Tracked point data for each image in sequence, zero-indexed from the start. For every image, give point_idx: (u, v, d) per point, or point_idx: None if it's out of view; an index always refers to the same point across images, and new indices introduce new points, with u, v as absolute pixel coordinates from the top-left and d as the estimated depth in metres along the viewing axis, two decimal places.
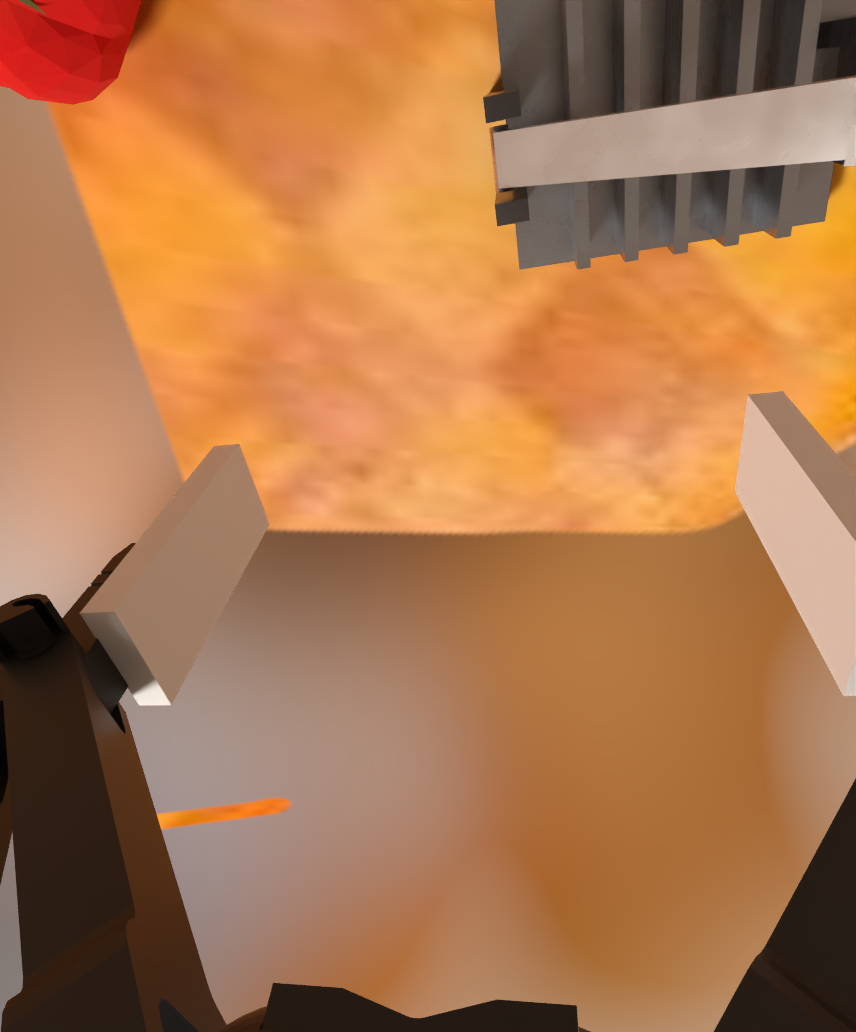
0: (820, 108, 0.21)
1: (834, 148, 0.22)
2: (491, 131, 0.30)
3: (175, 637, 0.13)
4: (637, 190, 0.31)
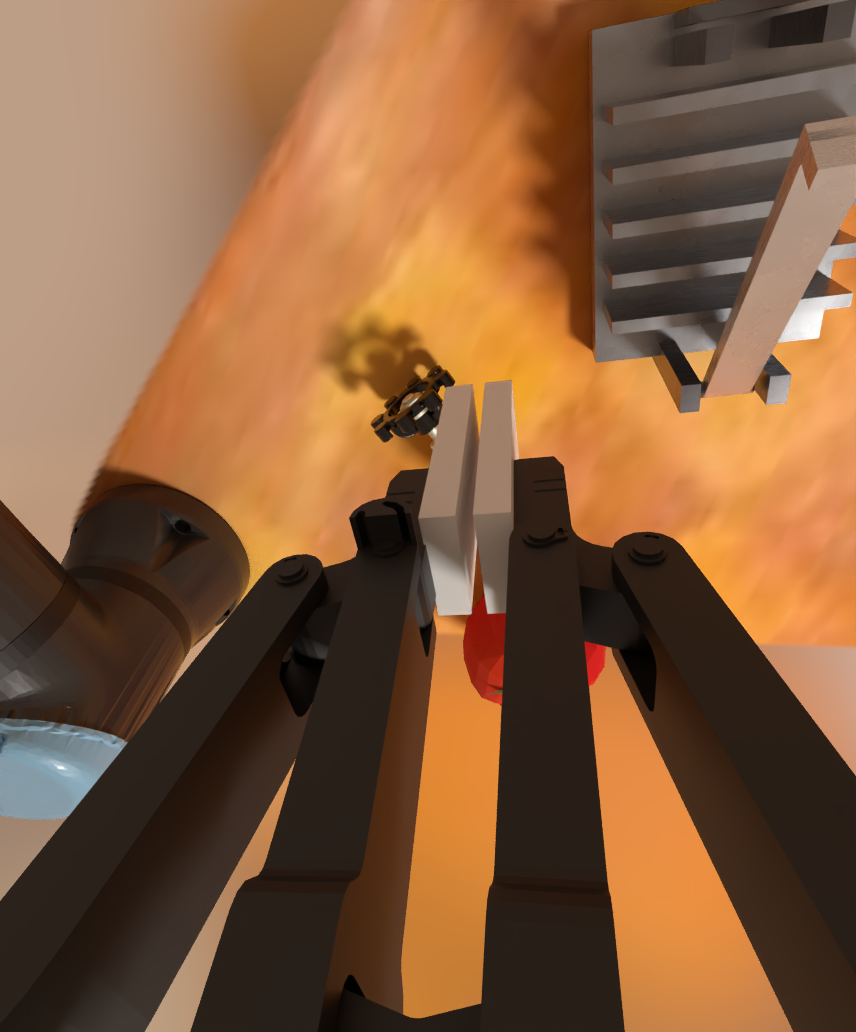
0: (811, 190, 0.22)
1: None
2: (701, 397, 0.35)
3: (468, 552, 0.14)
4: None
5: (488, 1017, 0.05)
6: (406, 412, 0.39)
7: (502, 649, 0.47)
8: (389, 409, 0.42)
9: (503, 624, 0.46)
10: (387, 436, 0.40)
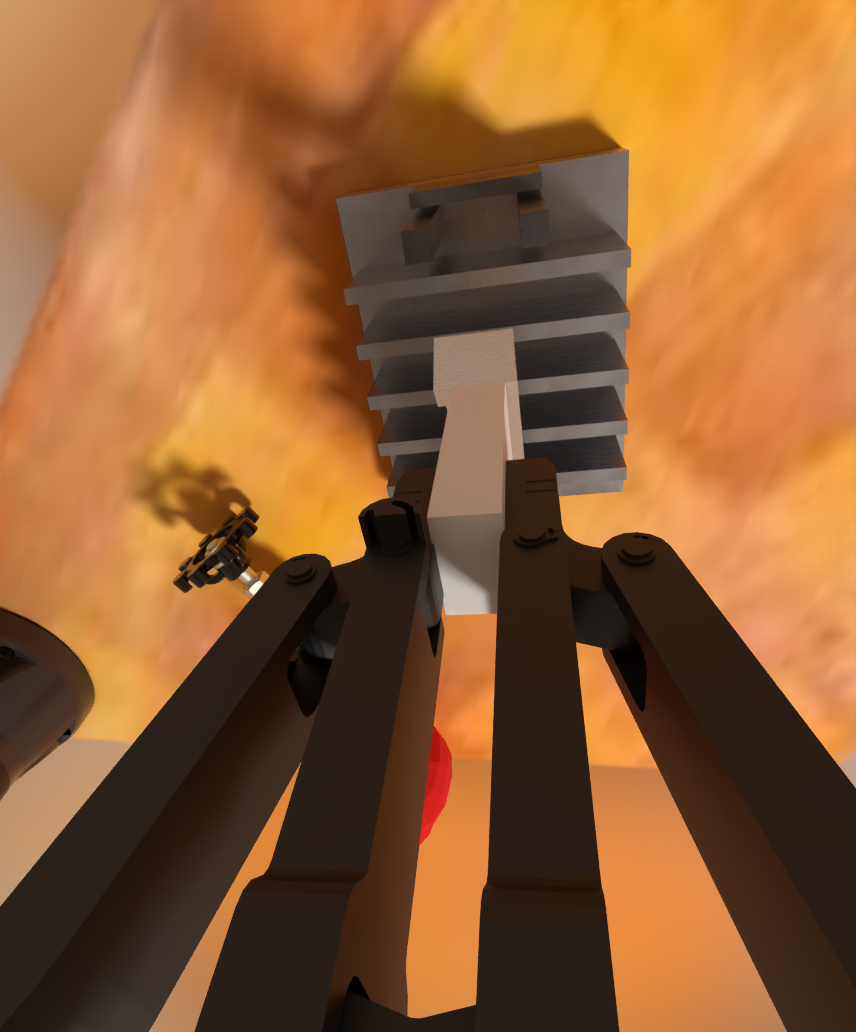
0: None
1: None
2: None
3: None
4: (553, 428, 0.29)
5: (483, 1017, 0.05)
6: (198, 567, 0.37)
7: None
8: (198, 552, 0.40)
9: None
10: (185, 587, 0.38)
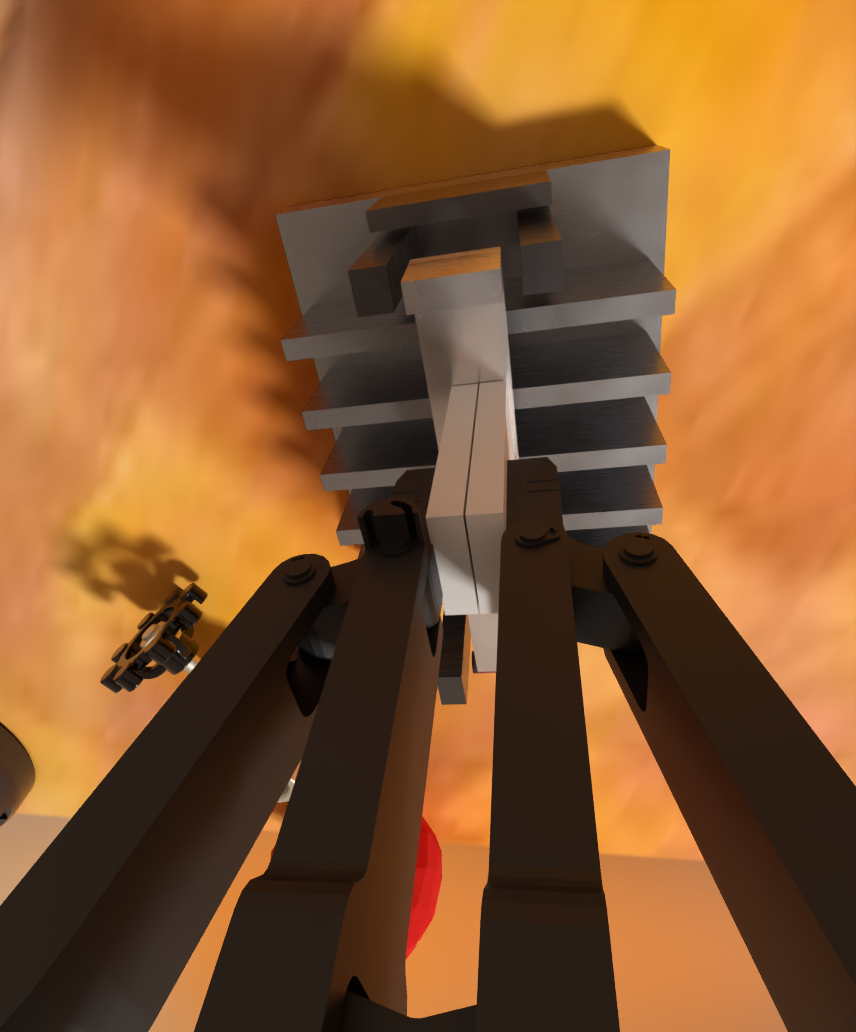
0: (446, 341, 0.17)
1: (490, 313, 0.16)
2: (476, 672, 0.25)
3: None
4: (564, 516, 0.22)
5: (484, 1017, 0.05)
6: (126, 667, 0.30)
7: None
8: (134, 638, 0.34)
9: None
10: (115, 688, 0.31)
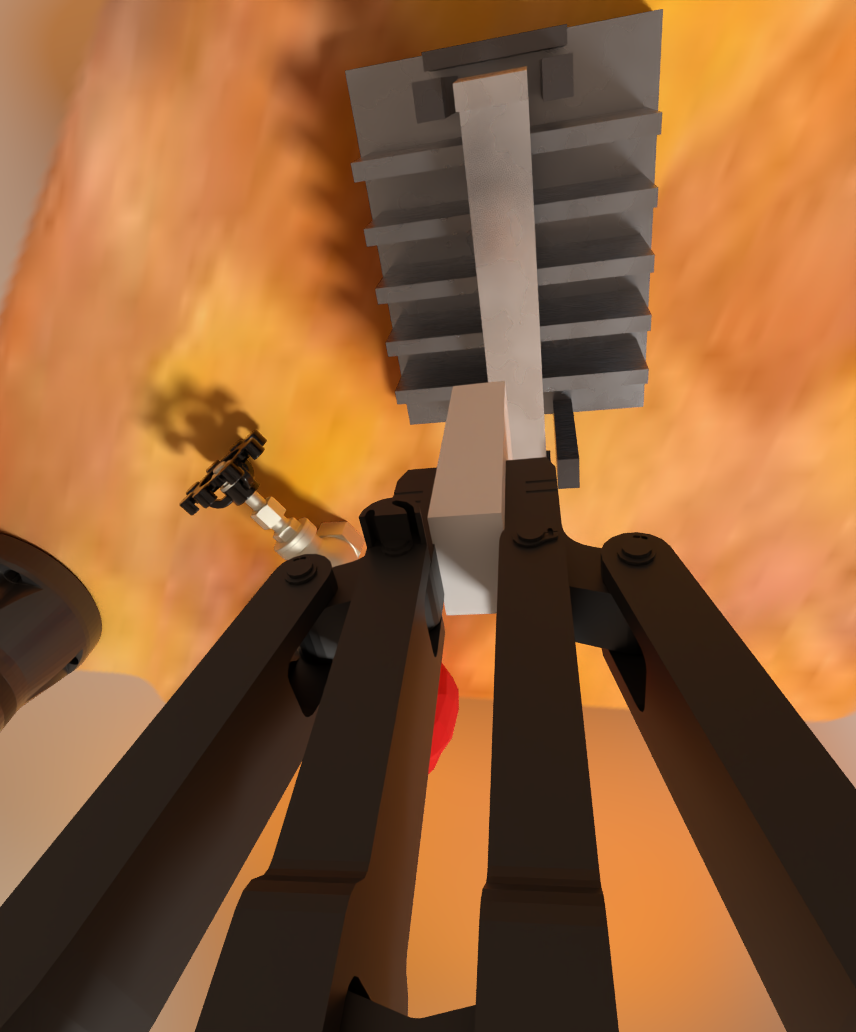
0: (483, 146, 0.22)
1: (518, 119, 0.22)
2: None
3: None
4: (571, 324, 0.28)
5: (483, 1018, 0.05)
6: (203, 486, 0.36)
7: None
8: (205, 477, 0.40)
9: None
10: (192, 509, 0.37)
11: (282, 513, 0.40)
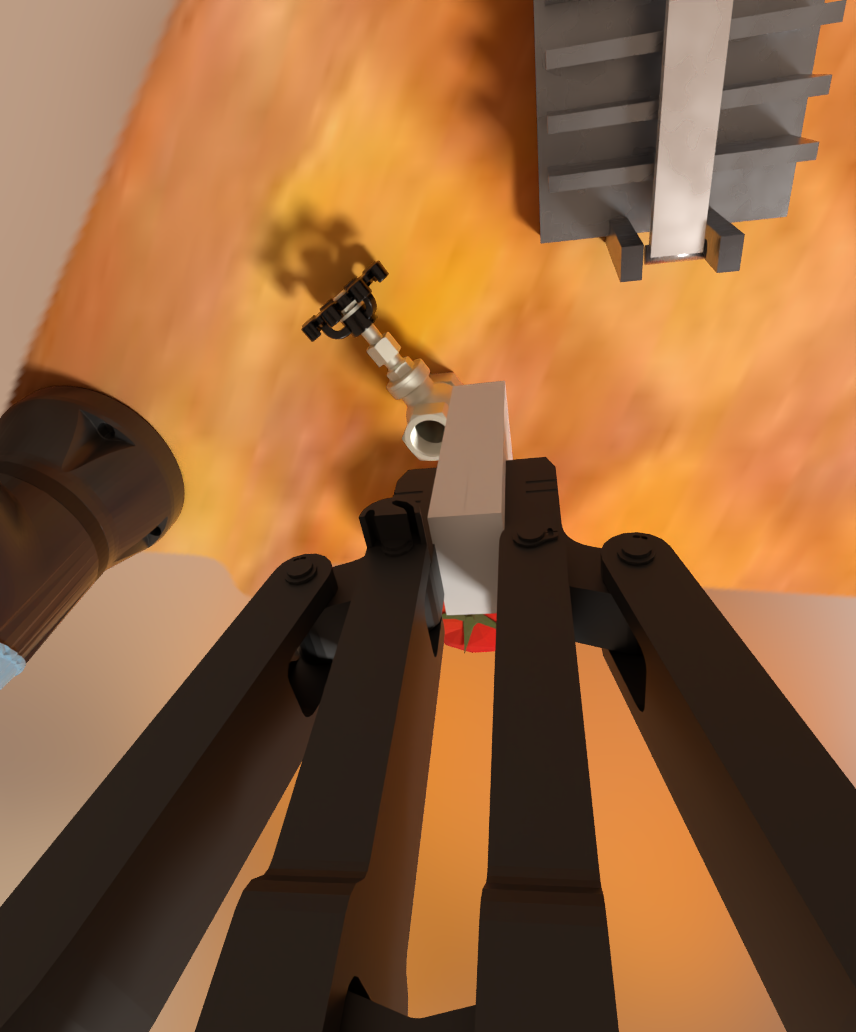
0: None
1: None
2: (648, 260, 0.31)
3: None
4: (746, 89, 0.27)
5: (483, 1018, 0.05)
6: (331, 303, 0.36)
7: None
8: (322, 310, 0.39)
9: None
10: (314, 333, 0.37)
11: (398, 348, 0.40)
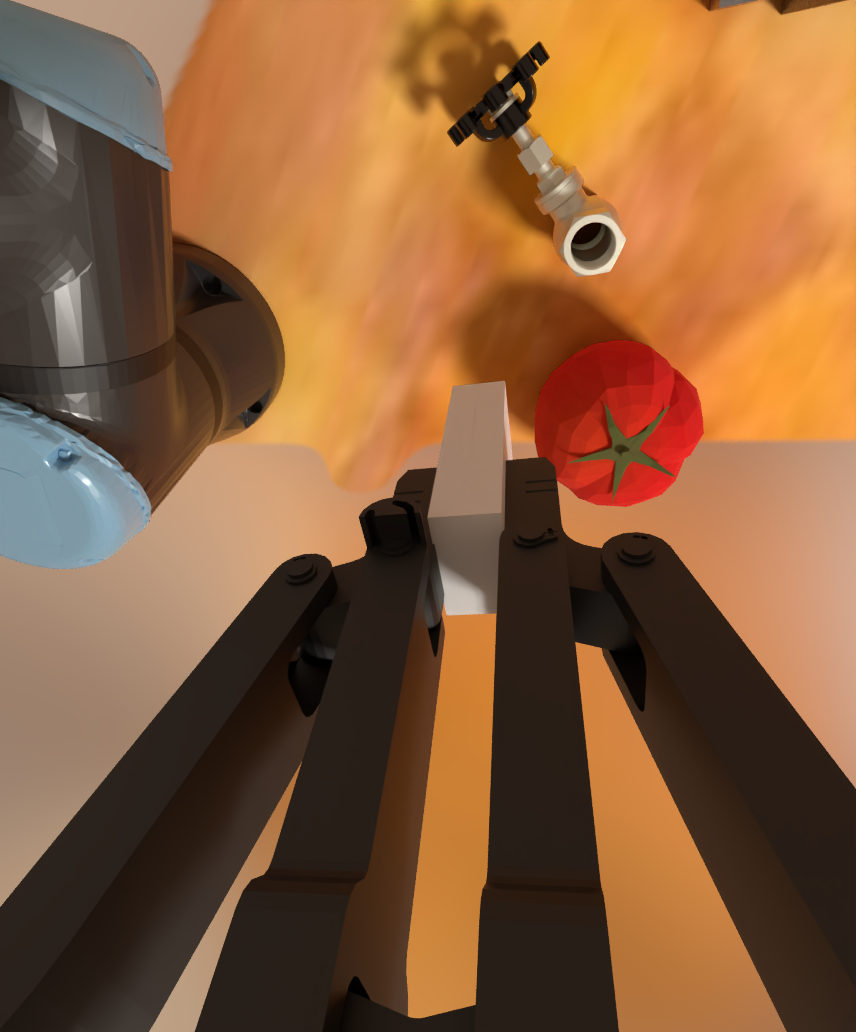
0: None
1: None
2: None
3: None
4: None
5: (482, 1017, 0.05)
6: None
7: (588, 404, 0.40)
8: None
9: (589, 374, 0.40)
10: (471, 126, 0.34)
11: None
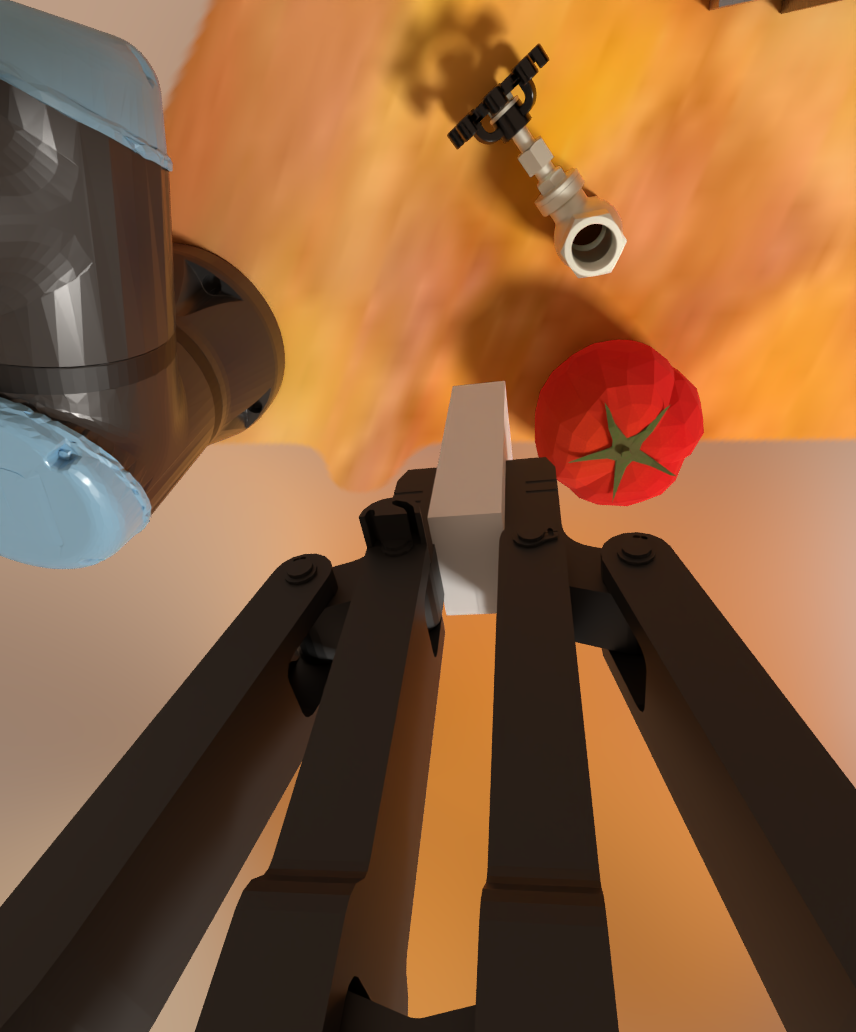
0: None
1: None
2: None
3: None
4: None
5: (483, 1018, 0.05)
6: (496, 85, 0.33)
7: (588, 404, 0.40)
8: None
9: (589, 374, 0.40)
10: (471, 129, 0.34)
11: None
